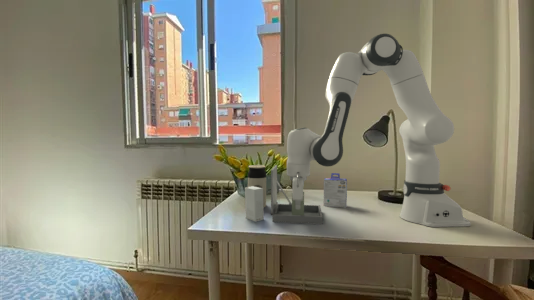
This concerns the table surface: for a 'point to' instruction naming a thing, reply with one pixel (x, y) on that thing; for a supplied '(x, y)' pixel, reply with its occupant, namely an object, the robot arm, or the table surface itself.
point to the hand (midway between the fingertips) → (298, 206)
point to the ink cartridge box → (335, 191)
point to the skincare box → (254, 203)
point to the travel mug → (258, 179)
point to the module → (297, 211)
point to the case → (285, 210)
